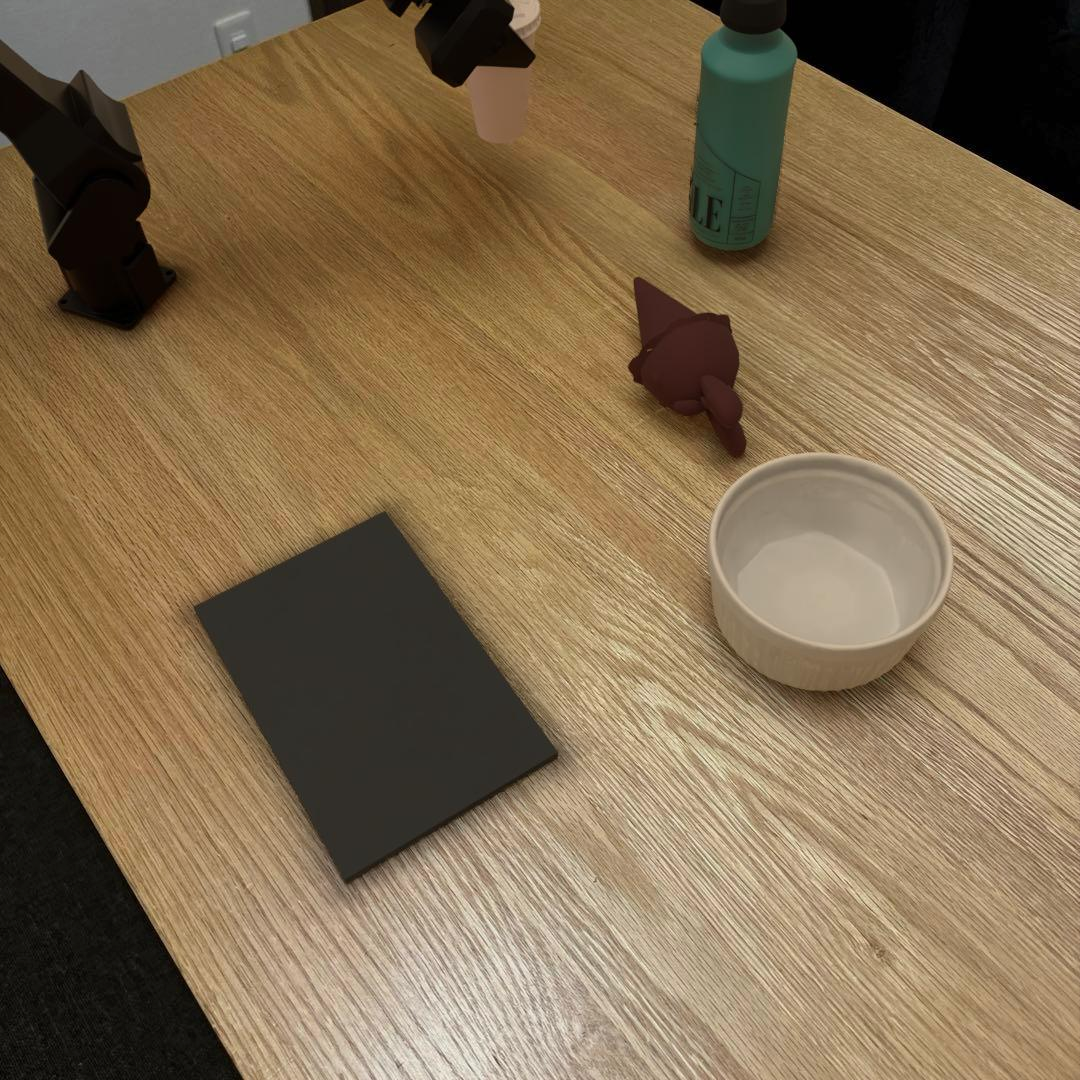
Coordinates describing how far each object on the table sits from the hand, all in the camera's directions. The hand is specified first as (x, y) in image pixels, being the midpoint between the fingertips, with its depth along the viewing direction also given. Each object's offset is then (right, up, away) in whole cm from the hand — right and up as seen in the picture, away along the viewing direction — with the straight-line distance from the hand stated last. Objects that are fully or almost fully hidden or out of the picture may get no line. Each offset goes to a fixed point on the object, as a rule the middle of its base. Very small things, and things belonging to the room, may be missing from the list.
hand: (514, 37), depth 85 cm
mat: (-8, -44, -17) cm, 48 cm away
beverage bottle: (+16, -13, +5) cm, 21 cm away
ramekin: (+18, -40, -15) cm, 46 cm away
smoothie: (-1, -5, +6) cm, 7 cm away
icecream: (+11, -26, -4) cm, 29 cm away
